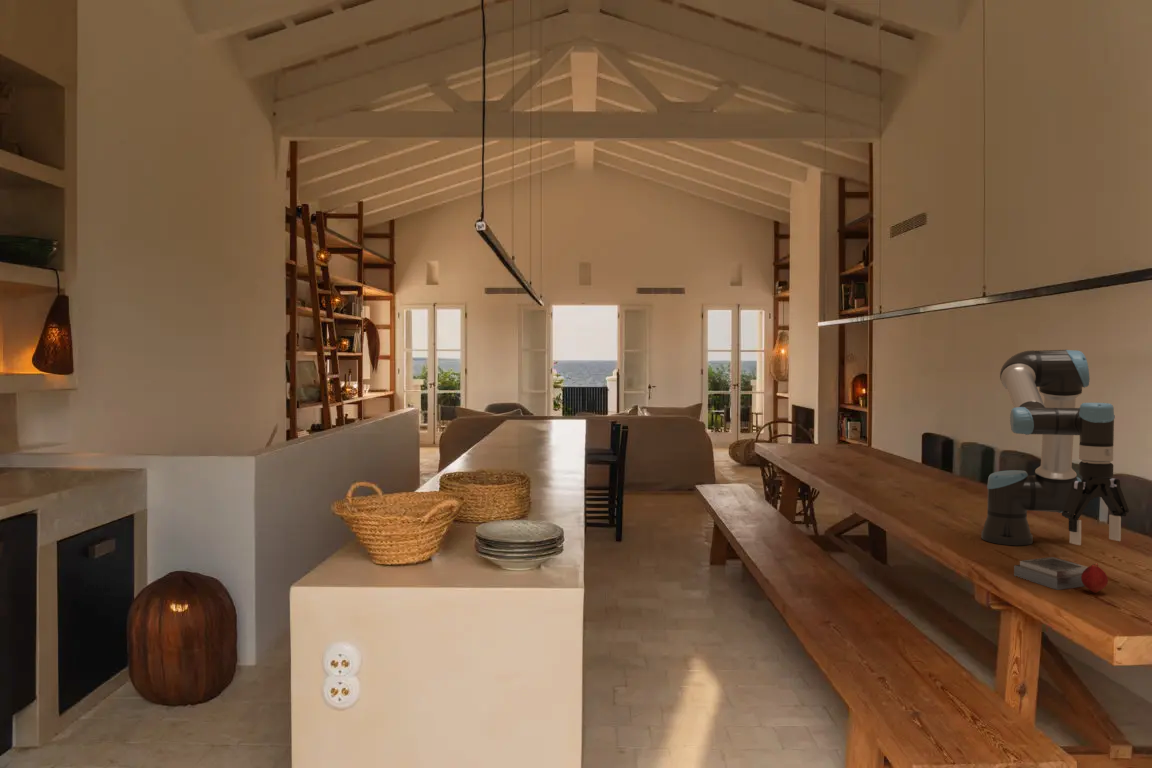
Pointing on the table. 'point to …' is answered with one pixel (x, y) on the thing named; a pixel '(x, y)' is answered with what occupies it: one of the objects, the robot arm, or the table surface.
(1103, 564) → the table surface
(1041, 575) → the silver shallow square tray
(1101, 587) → the onion
